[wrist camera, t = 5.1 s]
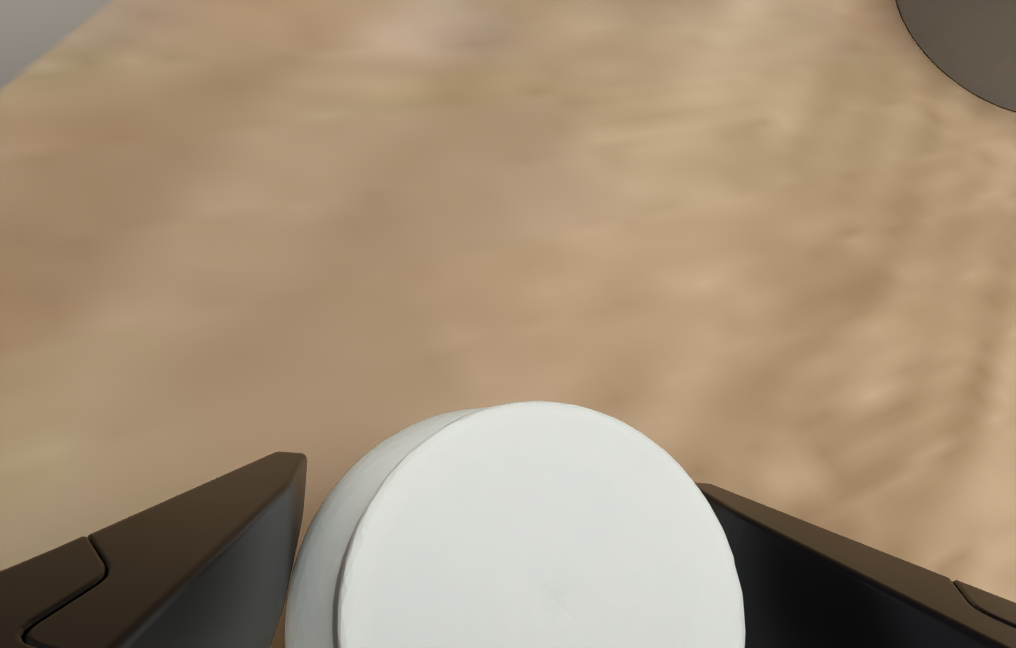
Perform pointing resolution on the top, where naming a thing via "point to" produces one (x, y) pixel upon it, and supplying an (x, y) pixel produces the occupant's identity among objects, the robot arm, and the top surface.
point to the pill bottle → (515, 541)
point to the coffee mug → (969, 43)
